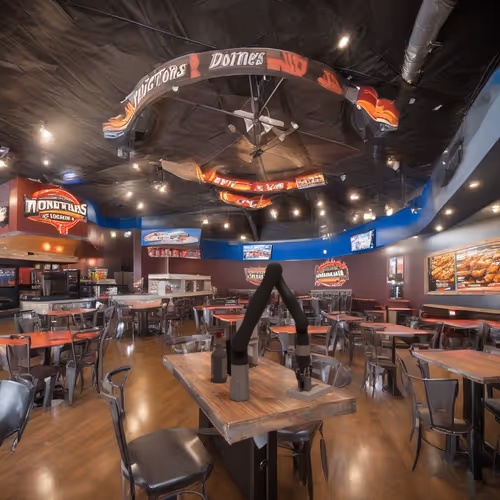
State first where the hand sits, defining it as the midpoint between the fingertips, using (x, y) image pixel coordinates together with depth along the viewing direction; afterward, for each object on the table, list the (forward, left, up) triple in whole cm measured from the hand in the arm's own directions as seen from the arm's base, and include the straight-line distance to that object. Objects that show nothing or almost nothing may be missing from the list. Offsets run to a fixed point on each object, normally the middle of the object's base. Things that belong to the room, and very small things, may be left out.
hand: (304, 387), depth 162 cm
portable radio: (+5, +63, -4) cm, 63 cm away
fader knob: (0, 0, -1) cm, 1 cm away
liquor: (-12, +56, -4) cm, 57 cm away
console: (+4, 0, -4) cm, 6 cm away
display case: (+25, +68, -4) cm, 73 cm away
